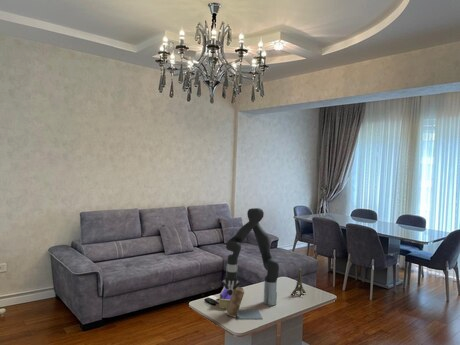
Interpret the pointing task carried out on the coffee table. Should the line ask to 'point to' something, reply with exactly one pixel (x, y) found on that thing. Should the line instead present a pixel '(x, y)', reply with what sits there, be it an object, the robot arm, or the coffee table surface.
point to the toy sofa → (224, 298)
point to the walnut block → (235, 301)
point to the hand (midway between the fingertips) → (229, 294)
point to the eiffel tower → (299, 284)
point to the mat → (249, 314)
